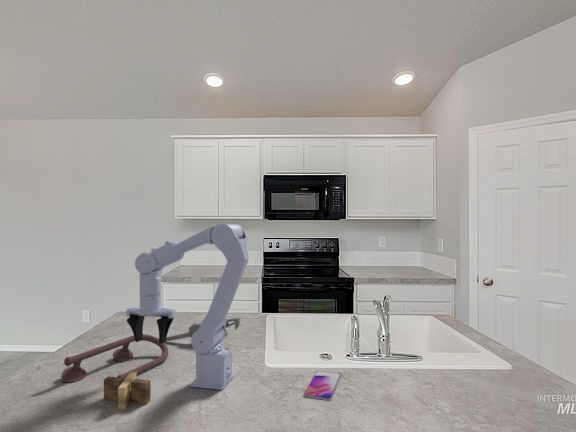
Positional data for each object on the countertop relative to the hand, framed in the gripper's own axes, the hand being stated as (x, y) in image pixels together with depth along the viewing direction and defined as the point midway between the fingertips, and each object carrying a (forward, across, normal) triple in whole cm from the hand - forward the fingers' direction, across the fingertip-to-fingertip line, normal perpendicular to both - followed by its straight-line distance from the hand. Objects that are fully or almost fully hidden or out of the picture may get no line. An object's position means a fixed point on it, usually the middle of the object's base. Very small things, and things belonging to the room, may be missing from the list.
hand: (150, 341), depth 99 cm
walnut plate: (+10, -2, +13) cm, 16 cm away
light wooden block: (+10, -2, +13) cm, 16 cm away
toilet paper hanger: (+10, +12, -4) cm, 17 cm away
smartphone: (+10, -49, -4) cm, 50 cm away
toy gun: (+10, -1, -28) cm, 30 cm away
